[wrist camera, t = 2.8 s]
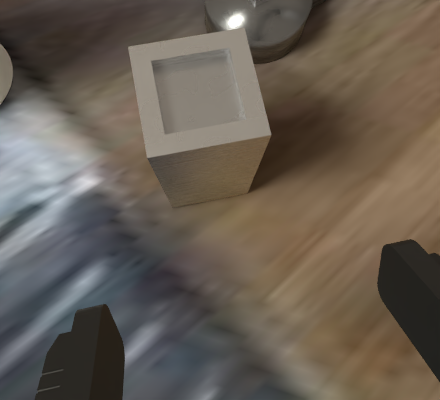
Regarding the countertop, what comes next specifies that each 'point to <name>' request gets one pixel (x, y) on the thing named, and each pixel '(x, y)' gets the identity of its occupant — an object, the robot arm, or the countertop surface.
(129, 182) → the countertop surface
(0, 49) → the cylindrical container
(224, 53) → the socket
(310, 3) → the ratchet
